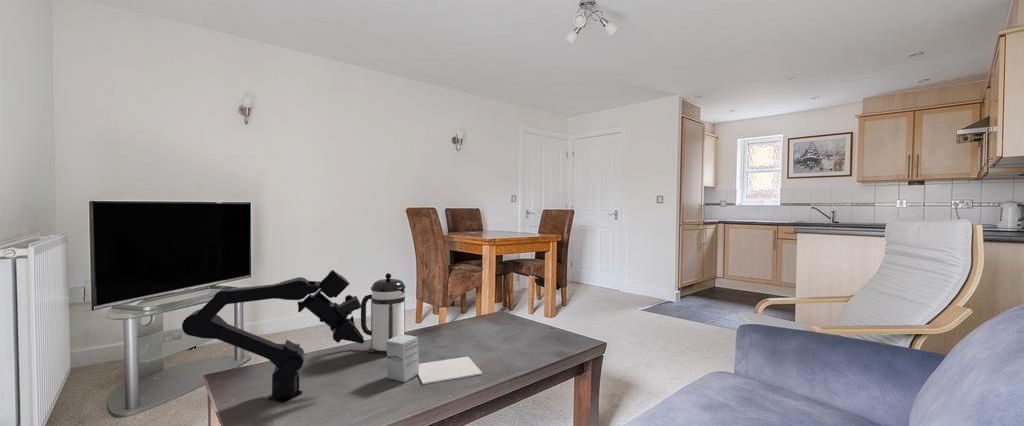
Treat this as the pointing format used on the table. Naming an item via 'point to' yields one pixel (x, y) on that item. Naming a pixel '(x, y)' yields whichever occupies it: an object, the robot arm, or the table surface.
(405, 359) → the supplement box
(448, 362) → the mat
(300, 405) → the table surface
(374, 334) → the coffee press
